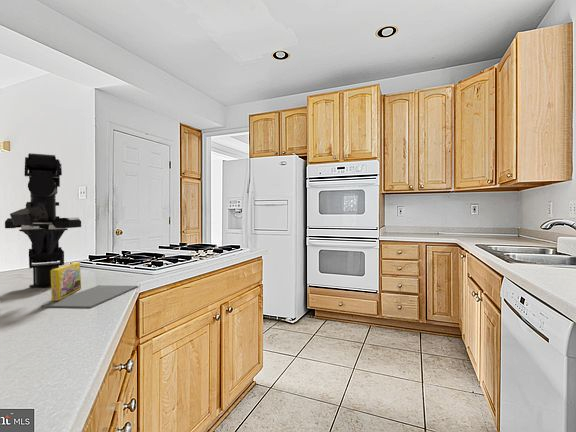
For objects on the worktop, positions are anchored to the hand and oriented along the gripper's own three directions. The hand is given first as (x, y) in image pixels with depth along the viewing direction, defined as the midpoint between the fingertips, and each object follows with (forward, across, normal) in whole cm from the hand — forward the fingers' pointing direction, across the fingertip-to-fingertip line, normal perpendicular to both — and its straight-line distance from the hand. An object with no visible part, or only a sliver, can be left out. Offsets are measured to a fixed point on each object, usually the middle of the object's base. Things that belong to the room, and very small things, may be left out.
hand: (44, 253), depth 93 cm
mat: (+12, +15, 0) cm, 19 cm away
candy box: (+12, +7, 0) cm, 14 cm away
